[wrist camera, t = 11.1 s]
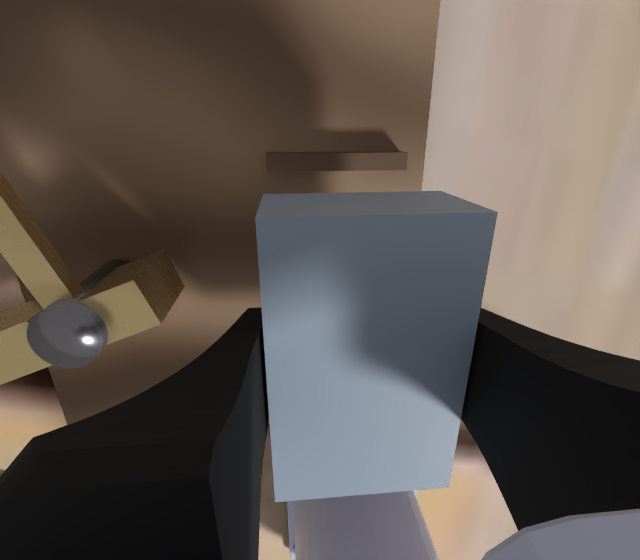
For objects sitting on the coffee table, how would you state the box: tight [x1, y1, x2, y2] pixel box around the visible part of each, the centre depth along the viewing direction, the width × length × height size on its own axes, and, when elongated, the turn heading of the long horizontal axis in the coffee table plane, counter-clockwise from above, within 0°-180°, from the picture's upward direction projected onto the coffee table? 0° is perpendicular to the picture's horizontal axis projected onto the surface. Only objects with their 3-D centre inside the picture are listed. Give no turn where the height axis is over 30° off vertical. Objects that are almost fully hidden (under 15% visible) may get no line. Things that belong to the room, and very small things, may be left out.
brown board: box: [0, 0, 440, 425], centre depth 15 cm, size 18×16×2 cm
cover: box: [255, 191, 498, 502], centre depth 10 cm, size 8×5×3 cm, turn 0°
